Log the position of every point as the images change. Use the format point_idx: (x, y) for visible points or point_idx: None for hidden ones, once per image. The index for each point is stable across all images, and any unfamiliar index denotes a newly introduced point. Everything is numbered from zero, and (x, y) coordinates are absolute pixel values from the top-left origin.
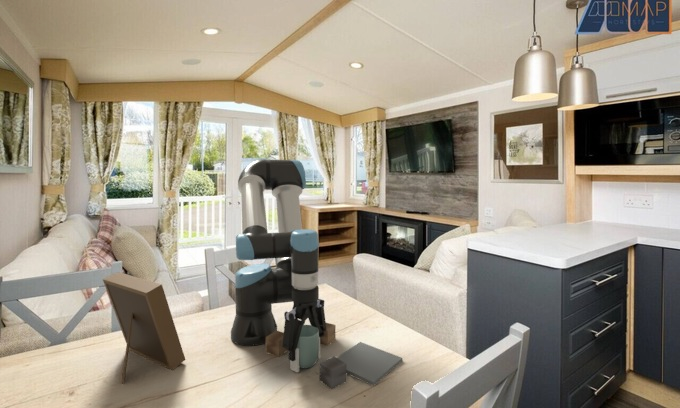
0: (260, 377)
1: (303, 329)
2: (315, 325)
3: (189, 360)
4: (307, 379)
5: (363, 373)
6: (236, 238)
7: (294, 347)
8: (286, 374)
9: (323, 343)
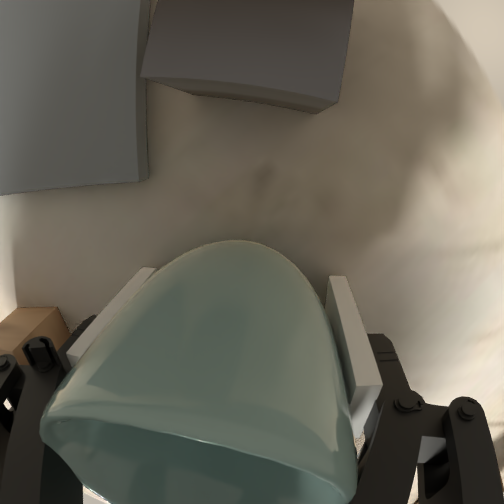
0: (437, 367)
1: (154, 490)
2: (48, 471)
3: (412, 490)
4: (353, 185)
5: None
6: None
7: (418, 409)
8: (376, 310)
9: (63, 330)
